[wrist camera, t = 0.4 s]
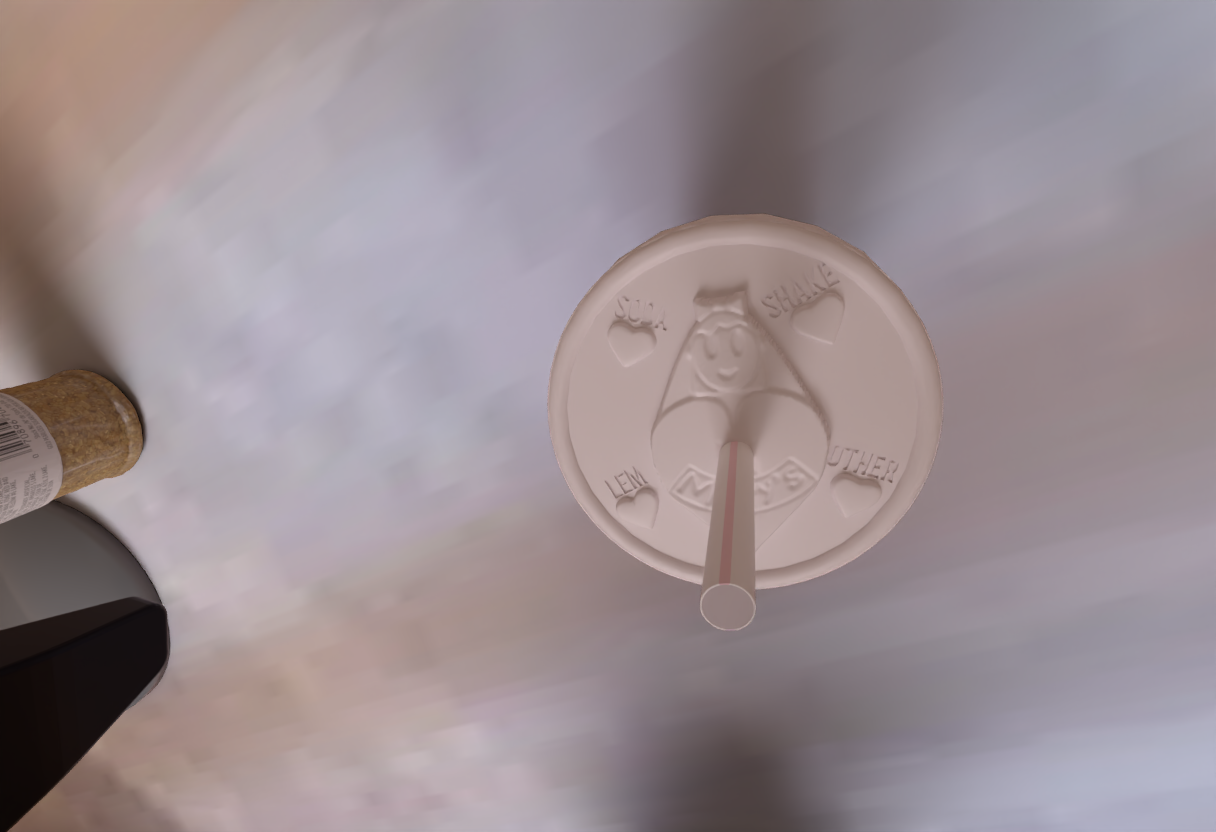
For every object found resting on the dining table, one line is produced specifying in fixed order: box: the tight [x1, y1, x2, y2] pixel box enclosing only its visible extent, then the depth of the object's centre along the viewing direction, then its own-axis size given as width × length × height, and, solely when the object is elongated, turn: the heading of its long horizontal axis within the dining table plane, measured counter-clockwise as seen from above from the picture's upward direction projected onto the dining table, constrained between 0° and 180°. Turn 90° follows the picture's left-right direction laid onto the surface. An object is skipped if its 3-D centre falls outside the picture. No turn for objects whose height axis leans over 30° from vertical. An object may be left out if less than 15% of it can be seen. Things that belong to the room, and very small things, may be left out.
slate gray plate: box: [0, 500, 170, 711], centre depth 29 cm, size 11×11×1 cm
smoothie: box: [547, 214, 943, 631], centre depth 13 cm, size 6×6×14 cm
